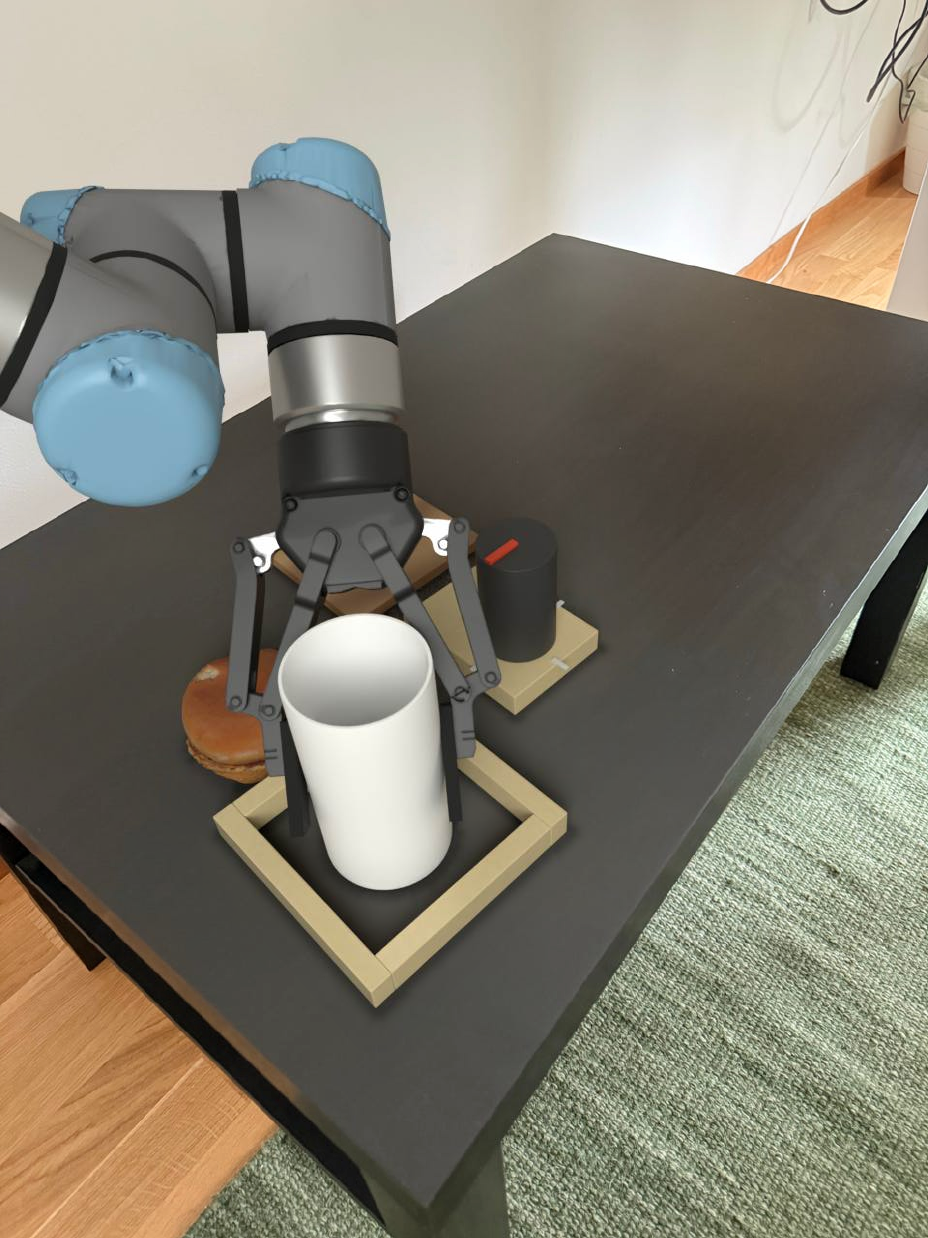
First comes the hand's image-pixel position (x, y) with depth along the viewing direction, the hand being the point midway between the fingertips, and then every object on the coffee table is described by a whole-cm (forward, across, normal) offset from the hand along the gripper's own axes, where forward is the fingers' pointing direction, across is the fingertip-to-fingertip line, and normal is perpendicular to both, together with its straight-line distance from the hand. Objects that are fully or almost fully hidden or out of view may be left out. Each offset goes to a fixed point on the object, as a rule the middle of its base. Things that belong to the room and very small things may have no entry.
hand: (378, 823), depth 53 cm
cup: (+2, 0, -7) cm, 7 cm away
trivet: (-18, +1, -27) cm, 33 cm away
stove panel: (-9, -9, -18) cm, 22 cm away
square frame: (+2, 0, -7) cm, 7 cm away
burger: (-5, +10, -14) cm, 17 cm away
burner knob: (-10, -10, -16) cm, 21 cm away
